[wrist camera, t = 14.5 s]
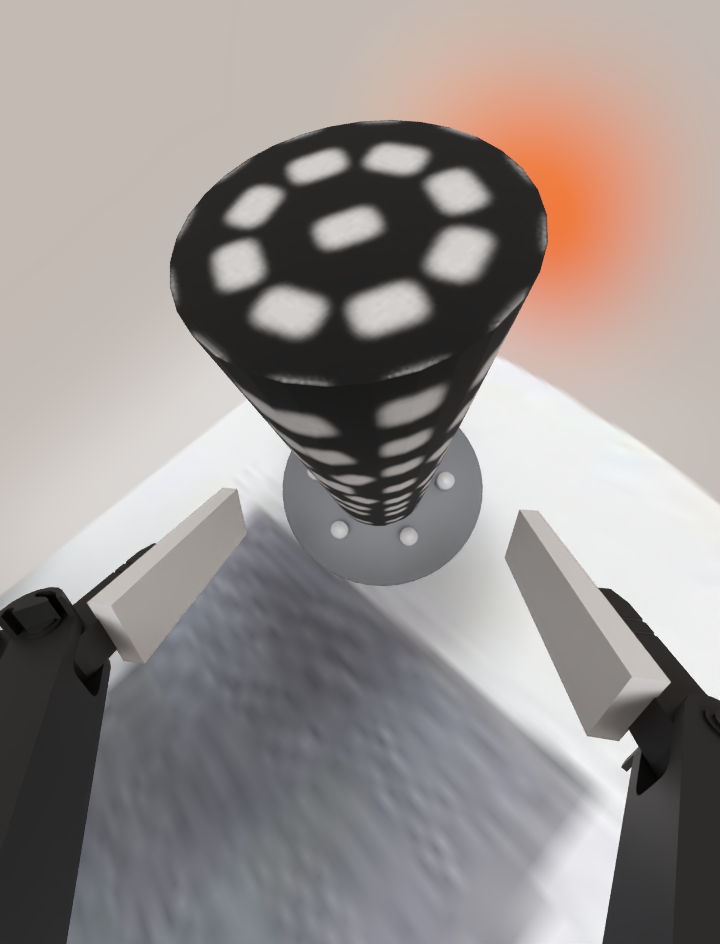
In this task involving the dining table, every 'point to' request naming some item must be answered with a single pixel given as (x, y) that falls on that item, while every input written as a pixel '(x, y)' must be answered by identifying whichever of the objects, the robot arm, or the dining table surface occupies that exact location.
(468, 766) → the dining table surface
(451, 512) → the stub plate
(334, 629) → the dining table surface
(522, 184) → the white-spotted black cylinder
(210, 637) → the dining table surface
